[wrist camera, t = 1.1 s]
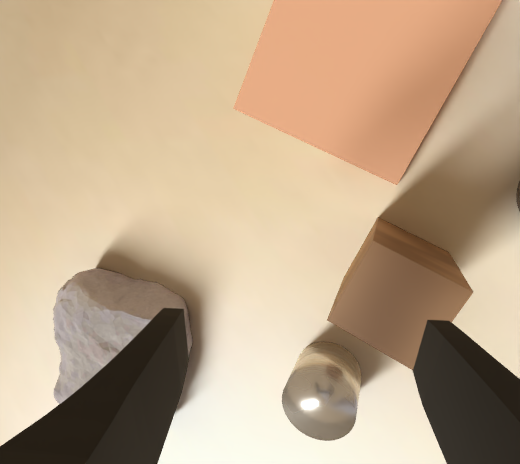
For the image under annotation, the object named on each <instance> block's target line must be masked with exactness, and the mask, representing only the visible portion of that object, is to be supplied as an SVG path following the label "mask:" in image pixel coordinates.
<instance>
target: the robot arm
mask: <svg viewBox="0 0 520 464" xmlns="http://www.w3.org/2000/svg"><path fill="white" fill-rule="evenodd" d="M188 360H189V356H188V346H187V336H186V327H185V317H184V309H179V308H163V309H162V310H161V311H160V312H159V313H158V314H157V315H156V316H155V317H154V318H153V319H152V320H151V321H150V322H149V323H148V324H147V325H146V326H145V327H144V328H143V329H142V330H141V331H140V332H139V333H138V334H137V335H136V336H135V337H134V338H133V339H132V341H130V342H129V343H128V344H127V345H126V346H125V347H124V348H123V349H122V350H121V351H120V352H119V353H118V354H117V355H116V356H115V357H114V358H113V359H112V360H111V361H110V362H109V363H108V364H107V365H105V366H104V367H103V368H102V369H101V370H100V371H99V372H98V373H96V374H95V375H94V376H93V377H92V378H91V379H90V380H89V381H87V382H86V383H85V384H84V385H83V386H82V387H80V388H79V389H78V390H77V391H76V392H74V393H73V394H72V395H71V396H70V397H68V398H67V399H66V400H65V401H63V402H62V403H61V404H59V405H58V406H57V407H56V408H54V409H53V410H52V411H50V412H49V413H48V414H46V415H45V416H44V417H42V418H41V419H39V420H38V421H37V422H35V423H34V424H32V425H31V426H29V427H28V428H26V429H25V430H23V431H22V432H21V433H19V434H18V435H16V436H15V437H13V438H12V439H10V440H9V441H8V442H6V443H5V444H3V445H2V446H0V464H157V463H158V460H159V457H160V454H161V451H162V448H163V445H164V442H165V440H166V437H167V434H168V431H169V428H170V425H171V422H172V419H173V416H174V413H175V410H176V407H177V404H178V401H179V398H180V395H181V392H182V388H183V384H184V379H185V375H186V370H187V365H188ZM413 373H414V376H415V380H416V384H417V388H418V391H419V395H420V398H421V401H422V405H423V407H424V410H425V412H426V415H427V417H428V419H429V422H430V424H431V427H432V429H433V432H434V434H435V436H436V439H437V441H438V443H439V446H440V448H441V450H442V453H443V455H444V458H445V460H446V462H447V464H520V379H519V378H518V377H516V376H515V375H514V374H513V373H512V372H510V371H509V370H508V369H507V368H505V367H504V366H503V365H502V364H501V363H499V362H498V361H497V360H496V359H495V358H493V357H492V356H491V355H490V354H489V353H487V352H486V351H485V350H484V349H483V348H481V347H480V346H479V345H478V344H477V343H476V342H474V341H473V340H472V339H471V338H470V337H468V336H467V335H466V334H465V333H464V332H462V331H461V330H460V329H459V328H458V327H456V326H455V325H454V324H453V323H451V322H450V321H445V320H427V323H426V327H425V330H424V334H423V337H422V340H421V344H420V347H419V351H418V354H417V358H416V361H415V365H414V368H413Z"/></svg>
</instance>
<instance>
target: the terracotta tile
mask: <svg viewBox="0 0 520 464" xmlns="http://www.w3.org/2000/svg"><path fill="white" fill-rule="evenodd" d="M501 2H502V0H274V1H273V4H272V7H271V9H270V12H269V15H268V17H267V20H266V23H265V25H264V28H263V31H262V33H261V36H260V39H259V41H258V44H257V47H256V49H255V52H254V55H253V57H252V60H251V63H250V65H249V68H248V71H247V73H246V76H245V79H244V81H243V84H242V87H241V89H240V92H239V95H238V97H237V100H236V103H235V105H234V108H233V109H235V110H238V111H240V112H242V113H244V114H246V115H248V116H250V117H253V118H255V119H257V120H259V121H261V122H263V123H265V124H268V125H270V126H272V127H274V128H276V129H278V130H280V131H282V132H285V133H287V134H289V135H291V136H293V137H295V138H297V139H300V140H302V141H304V142H306V143H308V144H310V145H312V146H314V147H317V148H319V149H321V150H323V151H325V152H327V153H329V154H332V155H334V156H336V157H338V158H340V159H342V160H344V161H347V162H349V163H351V164H353V165H355V166H357V167H359V168H361V169H364V170H366V171H368V172H370V173H372V174H374V175H376V176H379V177H381V178H383V179H385V180H387V181H389V182H391V183H393V184H396V185H397V184H398V183H399V181H400V179H401V177H402V176H403V174H404V172H405V170H406V168H407V167H408V165H409V163H410V161H411V160H412V158H413V156H414V154H415V153H416V151H417V149H418V147H419V146H420V144H421V142H422V140H423V139H424V137H425V135H426V133H427V132H428V130H429V128H430V126H431V125H432V123H433V121H434V119H435V118H436V116H437V114H438V112H439V110H440V109H441V107H442V105H443V103H444V102H445V100H446V98H447V96H448V95H449V93H450V91H451V89H452V88H453V86H454V84H455V82H456V81H457V79H458V77H459V75H460V74H461V72H462V70H463V68H464V67H465V65H466V63H467V61H468V60H469V58H470V56H471V54H472V52H473V51H474V49H475V47H476V45H477V44H478V42H479V40H480V38H481V37H482V35H483V33H484V31H485V30H486V28H487V26H488V24H489V23H490V21H491V19H492V17H493V16H494V14H495V12H496V10H497V9H498V7H499V5H500V3H501Z"/></svg>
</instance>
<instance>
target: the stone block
mask: <svg viewBox="0 0 520 464" xmlns="http://www.w3.org/2000/svg"><path fill="white" fill-rule="evenodd" d="M163 308H179V309H184V317H185V327H186V336H187V346H188V356H189V353H190V349H191V347H192V344H193V339H192V335H191V329H190V321H189V316H188V310H187V306H186V303H185V301H184V299H183V298H182V297H181V296H179V295H178V294H176V293H173V292H172V291H170V290H169V289H167V288H165V287H164V286H163V285H160V284H159V283H157V282H149V281H143V280H142V279H137V280H134V279H132V278H129V277H126V276H125V275H122V274H120V273H116V272H112V271H108V270H104V269H101V268H100V269H98V268H96V269H91V270H87V271H83V272H79V273H77V274H76V275H75V276H73V278H72V279H71V280H68V281H67V282H66V284H65V285H64V286H63V287H62V288H61V289H60V290H59V291H58V295H57V299H56V304H55V307H54V309H53V311H54V318H53V320H54V331H55V340H56V343H57V344H58V346H59V349H60V353H61V363H60V367H59V369H60V375H59V378H58V380H57V383H56V386H55V388H54V398H55V399H56V401H57V402H58V403H60V404H61V403H62V402H63V401H65V400H66V399H67V398H68V397H70V396H71V395H72V394H73V393H74V392H76V391H77V390H78V389H79V388H80V387H82V386H83V385H84V384H85V383H86V382H87V381H89V380H90V379H91V378H92V377H93V376H94V375H95V374H96V373H98V372H99V371H100V370H101V369H102V368H103V367H104V366H105V365H107V364H108V363H109V362H110V361H111V360H112V359H113V358H114V357H115V356H116V355H117V354H118V353H119V352H120V351H121V350H122V349H123V348H124V347H125V346H126V345H127V344H128V343H129V342H130V341H132V339H133V338H134V337H135V336H136V335H137V334H138V333H139V332H140V331H141V330H142V329H143V328H144V327H145V326H146V325H147V324H148V323H149V322H150V321H151V320H152V319H153V318H154V317H155V316H156V315H157V314H158V313H159V312H160V311H161V310H162V309H163Z"/></svg>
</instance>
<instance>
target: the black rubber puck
mask: <svg viewBox="0 0 520 464" xmlns="http://www.w3.org/2000/svg"><path fill="white" fill-rule="evenodd" d="M517 204H518V208H519V211H520V182H519V184H518V188H517Z"/></svg>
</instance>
